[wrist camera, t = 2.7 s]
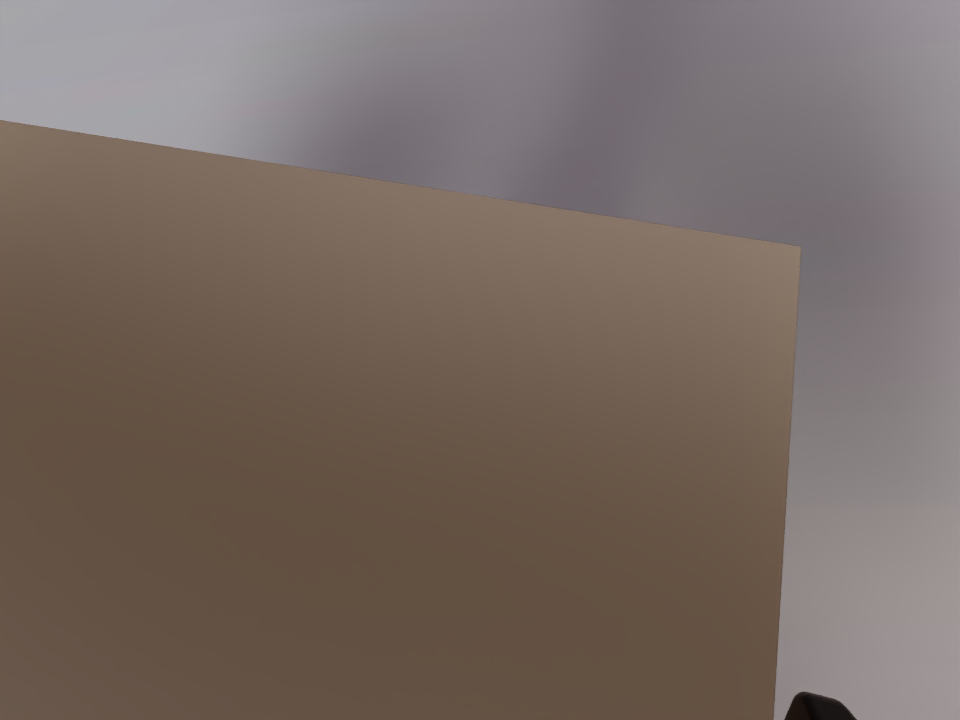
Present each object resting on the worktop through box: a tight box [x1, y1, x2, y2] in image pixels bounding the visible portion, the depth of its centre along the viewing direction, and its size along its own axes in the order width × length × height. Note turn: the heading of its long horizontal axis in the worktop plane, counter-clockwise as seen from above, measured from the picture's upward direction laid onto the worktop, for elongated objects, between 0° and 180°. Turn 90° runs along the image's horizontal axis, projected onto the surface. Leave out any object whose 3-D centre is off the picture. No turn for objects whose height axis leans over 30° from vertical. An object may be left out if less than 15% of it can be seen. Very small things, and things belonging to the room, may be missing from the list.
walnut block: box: [0, 120, 801, 720], centre depth 9 cm, size 5×5×13 cm
